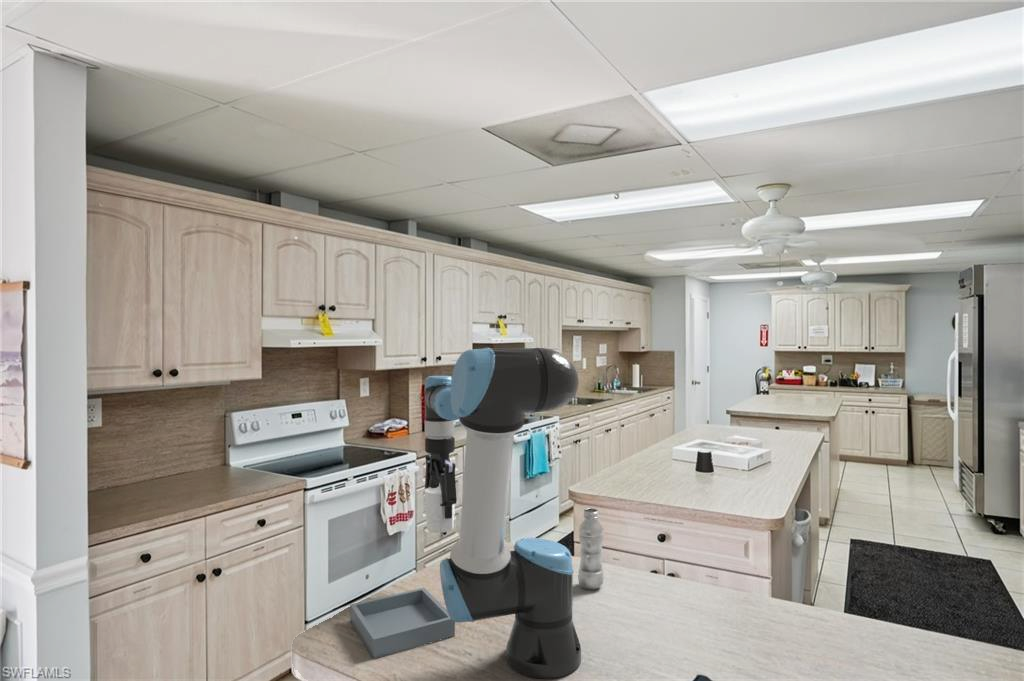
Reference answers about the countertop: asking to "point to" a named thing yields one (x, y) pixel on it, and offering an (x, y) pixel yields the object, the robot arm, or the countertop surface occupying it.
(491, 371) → the robot arm
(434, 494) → the white cup
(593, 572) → the plastic bottle
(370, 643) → the bin
